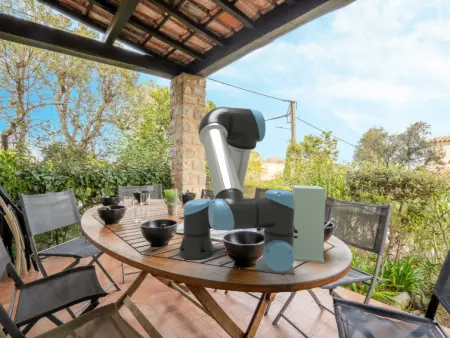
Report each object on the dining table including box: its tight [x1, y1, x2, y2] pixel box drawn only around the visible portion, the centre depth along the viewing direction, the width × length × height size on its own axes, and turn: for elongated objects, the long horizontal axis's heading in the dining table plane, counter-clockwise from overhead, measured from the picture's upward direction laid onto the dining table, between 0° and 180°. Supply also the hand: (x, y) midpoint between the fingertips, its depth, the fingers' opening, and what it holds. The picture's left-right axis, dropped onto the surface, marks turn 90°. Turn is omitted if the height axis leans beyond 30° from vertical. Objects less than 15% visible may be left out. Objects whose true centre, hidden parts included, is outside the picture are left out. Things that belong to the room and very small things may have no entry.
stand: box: [291, 184, 326, 264], centre depth 106 cm, size 13×14×30 cm
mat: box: [255, 256, 296, 276], centre depth 98 cm, size 14×18×1 cm
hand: (275, 221), depth 96 cm, fingers closed on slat, 5 cm apart
